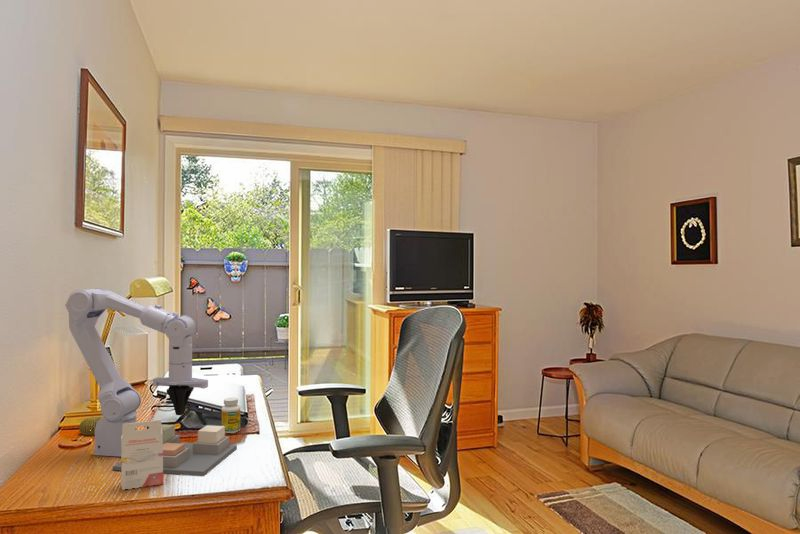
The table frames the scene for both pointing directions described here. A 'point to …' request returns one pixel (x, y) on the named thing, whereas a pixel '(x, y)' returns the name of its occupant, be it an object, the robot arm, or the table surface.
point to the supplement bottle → (231, 415)
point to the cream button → (211, 434)
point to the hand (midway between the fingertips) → (180, 414)
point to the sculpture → (89, 425)
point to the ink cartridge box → (142, 455)
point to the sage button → (168, 432)
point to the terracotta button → (172, 449)
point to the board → (194, 457)
